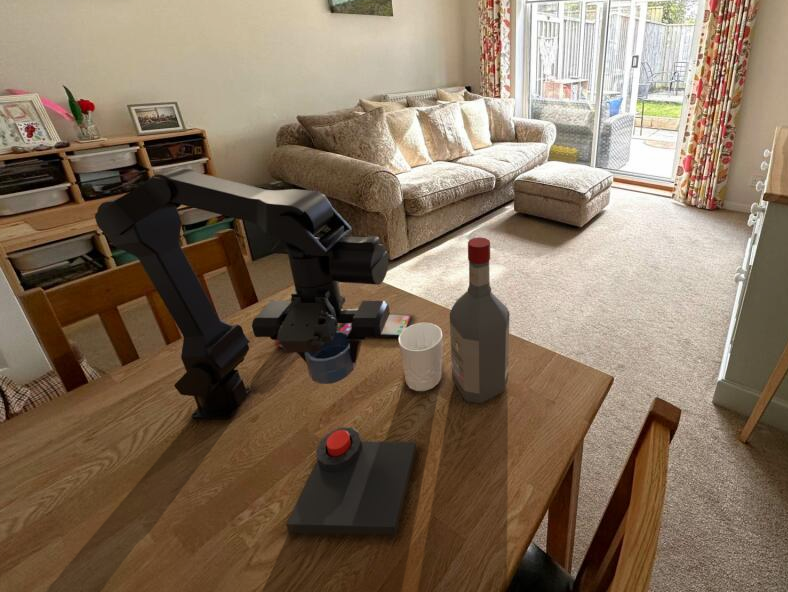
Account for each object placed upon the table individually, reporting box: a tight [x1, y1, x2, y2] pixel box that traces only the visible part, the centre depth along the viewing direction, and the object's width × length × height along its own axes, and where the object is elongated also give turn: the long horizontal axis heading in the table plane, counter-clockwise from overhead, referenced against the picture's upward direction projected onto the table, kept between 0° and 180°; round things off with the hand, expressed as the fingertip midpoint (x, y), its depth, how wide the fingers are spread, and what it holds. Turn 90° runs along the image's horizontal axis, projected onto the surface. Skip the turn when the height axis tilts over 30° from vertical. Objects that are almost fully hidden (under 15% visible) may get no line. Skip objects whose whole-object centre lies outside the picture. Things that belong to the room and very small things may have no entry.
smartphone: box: [337, 313, 413, 339], centre depth 91 cm, size 8×1×15 cm
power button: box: [326, 430, 351, 456], centre depth 60 cm, size 3×3×2 cm
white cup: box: [397, 322, 443, 392], centre depth 76 cm, size 8×8×10 cm
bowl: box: [305, 330, 357, 385], centre depth 65 cm, size 7×7×5 cm
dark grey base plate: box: [286, 426, 417, 536], centre depth 58 cm, size 14×13×4 cm
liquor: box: [449, 236, 511, 405], centre depth 71 cm, size 9×9×30 cm
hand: (331, 361), depth 65 cm, fingers closed on bowl, 7 cm apart
